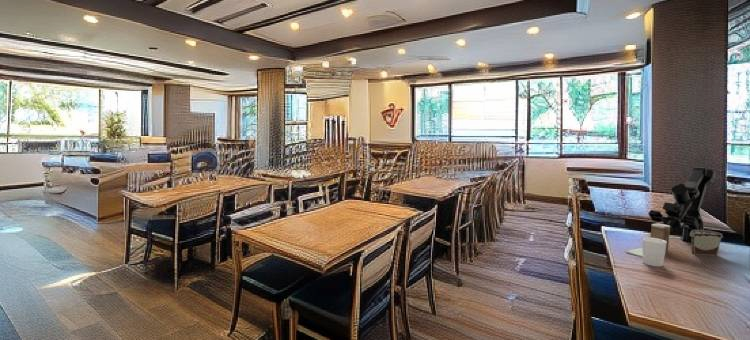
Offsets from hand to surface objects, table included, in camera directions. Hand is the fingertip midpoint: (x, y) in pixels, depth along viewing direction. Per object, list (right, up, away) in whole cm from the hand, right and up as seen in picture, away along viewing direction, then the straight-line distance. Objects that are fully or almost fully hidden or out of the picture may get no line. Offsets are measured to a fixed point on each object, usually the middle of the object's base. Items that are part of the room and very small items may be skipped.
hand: (664, 233), depth 174 cm
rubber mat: (-12, -8, -5) cm, 15 cm away
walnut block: (-3, -8, 0) cm, 8 cm away
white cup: (-18, -10, -18) cm, 27 cm away
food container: (+14, -9, -3) cm, 17 cm away
